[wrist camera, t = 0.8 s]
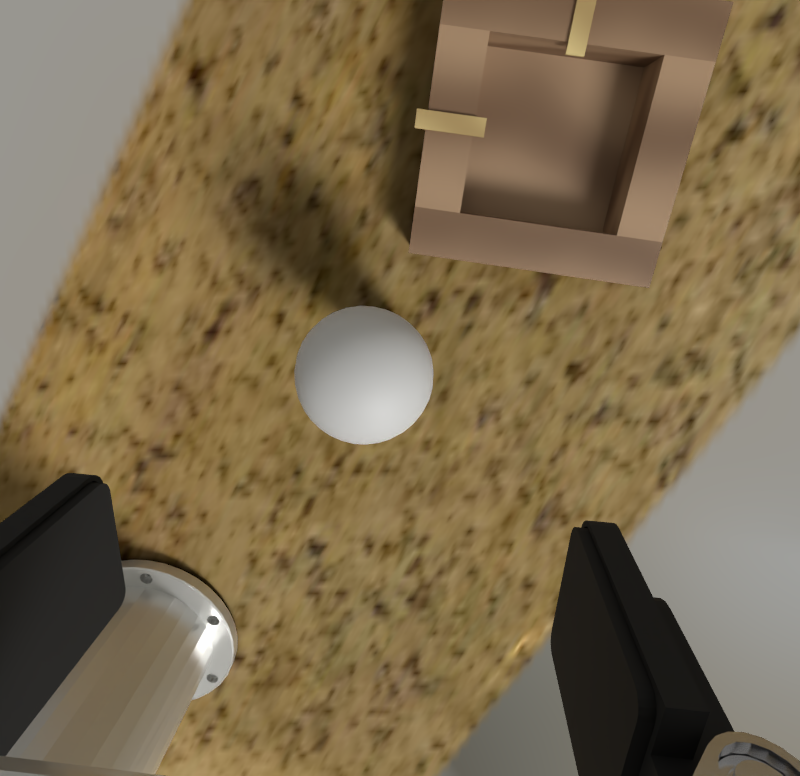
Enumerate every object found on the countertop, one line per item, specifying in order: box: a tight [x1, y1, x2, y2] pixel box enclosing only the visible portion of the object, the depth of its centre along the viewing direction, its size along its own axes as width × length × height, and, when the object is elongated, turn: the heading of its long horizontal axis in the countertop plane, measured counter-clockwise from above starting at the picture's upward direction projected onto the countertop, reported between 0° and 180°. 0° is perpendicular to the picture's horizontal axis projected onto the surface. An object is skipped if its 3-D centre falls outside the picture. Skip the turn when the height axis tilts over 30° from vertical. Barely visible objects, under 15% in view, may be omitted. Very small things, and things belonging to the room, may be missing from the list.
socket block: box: [409, 0, 733, 288], centre depth 26 cm, size 12×12×3 cm
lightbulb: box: [295, 306, 433, 444], centre depth 26 cm, size 6×6×11 cm
